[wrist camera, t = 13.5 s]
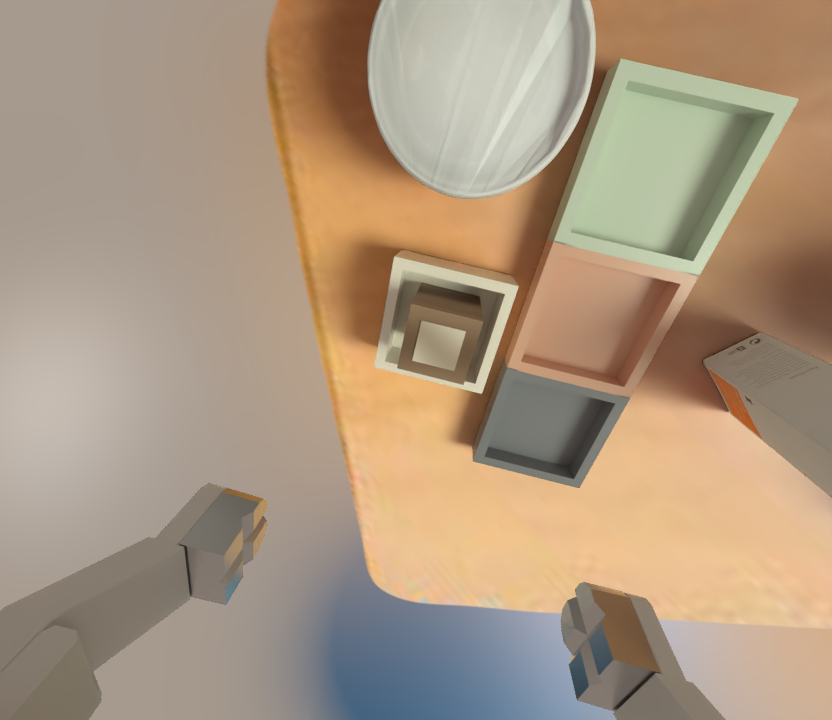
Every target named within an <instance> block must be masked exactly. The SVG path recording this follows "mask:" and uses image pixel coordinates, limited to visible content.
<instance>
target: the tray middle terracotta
mask: <svg viewBox="0 0 832 720" xmlns="http://www.w3.org/2000/svg"><path fill="white" fill-rule="evenodd" d="M549 239H550V238H549ZM566 244H567V243H566ZM616 256H617V255H616ZM628 259H629V258H628ZM673 270H674V269H673ZM673 270H669V269H665V268H660V267H656V266H653V264H652V265H648V264H644V263H639V262H635V261H631V260H627V259H623V258H618V257H614V256H610V255H606V254H602V253H597V252H593V250H592V251H589V250H585V249H581V248H578V247H577V248H576V247H575V246H573V247H572V246H570V245H564V244H559V243H555V241H554V242H552V241H551V240H548V238H547V240H546V243H545V246H544V249H543V252H542V254H541V257H540V260H539V263H538V266H537V268H536V271H535V274H534V277H533V279H532V282H531V285H530V288H529V291H528V293H527V296H526V299H525V302H524V305H523V307H522V310H521V313H520V316H519V318H518V321H517V324H516V327H515V330H514V332H513V335H512V338H511V341H510V344H509V346H508V349H507V352H506V355H505V359H506V361H505V362H506V366H507V368H508V367H509V368H510V369H516V370H520V371H521V372H524V373H528V374H533V375H535V374H536V376H540V377H544V376H545V378H547V377H549V379H553V380H557V381H561V382H565V383H569V384H572V383H573V385H577V386H581V387H585V388H586V387H588V388H589V389H593V390H597V391H601V392H605V393H606V392H607V393H609V394H613V395H618V396H619V395H620V396H621V395H622V397H624V396H626V397H627V398H629V397H631V396H632V394H633V392H634V390H635V389H636V387H637V385H638V383H639V382H640V380H641V378H642V376H643V374H644V373H645V371H646V369H647V367H648V366H649V364H650V362H651V360H652V359H653V357H654V355H655V353H656V351H657V350H658V348H659V346H660V344H661V343H662V341H663V339H664V337H665V336H666V334H667V332H668V330H669V328H670V327H671V325H672V323H673V321H674V320H675V318H676V316H677V314H678V313H679V311H680V309H681V307H682V306H683V304H684V302H685V300H686V298H687V297H688V295H689V293H690V291H691V290H692V288H693V286H694V284H695V283H696V281H697V279H698V276H699V275H698V276H696V274H695V276H694V275H692V274H687V273H682V272H677V271H673ZM675 270H676V269H675ZM683 272H684V271H683Z"/></svg>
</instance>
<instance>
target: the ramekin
mask: <svg viewBox="0 0 832 720" xmlns="http://www.w3.org/2000/svg"><path fill="white" fill-rule="evenodd" d="M595 51H596V34H595V23H594V16H593V10H592V6H591V2H590V0H381V1H380V4H379V7H378V9H377V12H376V15H375V17H374V21H373V25H372V29H371V34H370V40H369V47H368V56H367V73H368V90H369V97H370V102H371V106H372V110H373V113H374V117H375V120H376V123H377V126H378V129H379V131H380V133H381V135H382V137H383V139H384V141H385V143H386V145H387V147H388V148H389V150H390V151H391V153H392V154H393V156H394V157H395V159H396V160H397V161H398V163H399V164H400V165H401V166H402V167H403V168H404V169H405V170H406V171H407V172H408V173H409V174H410V175H411V176H412V177H414V178H415V179H416V180H418V181H419V182H420V183H422V184H423V185H425V186H427V187H429V188H430V189H432V190H435V191H437V192H439V193H442V194H445V195H448V196H451V197H454V198H463V199H480V198H488V197H492V196H496V195H500V194H503V193H506V192H508V191H510V190H513V189H515V188H517V187H519V186H520V185H522V184H524V183H525V182H527V181H529V180H530V179H531V178H533V177H534V176H535V175H537V174H538V173H539V172H540V171H542V170H543V169H544V168H545V167H546V166H547V165H548V164H549V163H550V162H551V161H552V160H553V159H554V158H555V156H556V155H557V154H558V153H559V152H560V150H561V149H562V147H563V146H564V144H565V143H566V142H567V140H568V138H569V137H570V135H571V134H572V132H573V130H574V128H575V127H576V125H577V123H578V121H579V119H580V116H581V114H582V111H583V109H584V107H585V104H586V101H587V98H588V95H589V92H590V87H591V83H592V78H593V73H594V65H595Z"/></svg>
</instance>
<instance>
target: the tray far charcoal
mask: <svg viewBox="0 0 832 720" xmlns="http://www.w3.org/2000/svg"><path fill="white" fill-rule="evenodd" d="M505 361H506V359H505V358H504V360H503V363H502V366H501V369H500V371H499V374H498V377H497V380H496V383H495V385H494V388H493V391H492V394H491V397H490V399H489V402H488V405H487V408H486V410H485V413H484V416H483V419H482V422H481V424H480V427H479V430H478V433H477V436H476V438H475V441H474V444H473V447H472V448H473V461H474V462H478V463H482V464H486V465H490V466H494V467H498V468H501V469H505V470H509V471H513V472H517V473H521V474H525V475H529V476H533V477H537V478H541V479H545V480H549V481H553V482H557V483H561V484H565V485H569V486H573V487H577V488H580V486H581V484H582V482H583V481H584V479H585V477H586V475H587V473H588V472H589V470H590V468H591V466H592V465H593V463H594V461H595V459H596V458H597V456H598V454H599V452H600V450H601V449H602V447H603V445H604V443H605V442H606V440H607V438H608V436H609V435H610V433H611V431H612V429H613V427H614V426H615V424H616V422H617V420H618V419H619V417H620V415H621V413H622V412H623V410H624V408H625V406H626V405H627V403H628V401H629V399H630V397H629V398H627V397H626V396H624V397H622V395H621V396H620V395H619V396H618V395H613V394H609V393H607V392H606V393H605V392H601V391H597V390H593V389H589V388H588V387H586V388H585V387H581V386H577V385H573V383H572V384H569V383H565V382H561V381H557V380H553V379H549V377H547V378H545V376H544V377H540V376H536V374H535V375H533V374H528V373H524V372H521V371H520V370H516V369H510V368H509V367H508V368H507V366H506V362H505Z"/></svg>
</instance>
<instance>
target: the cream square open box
mask: <svg viewBox="0 0 832 720" xmlns="http://www.w3.org/2000/svg"><path fill="white" fill-rule="evenodd" d="M422 282H423V283H427V284H431V285H435V286H439V287H443V288H447V289H451V290H455V291H459V292H463V293H468V294H472V295H476V296H480V302H481V308H482V314H483V321H484V322H483V325H482V328H481V332H480V335H479V338H478V341H477V344H476V347H475V350H474V354H473V357H472V360H471V363H470V366H469V369H468V372H467V376H466V379H465V382H464V385H461V384H457V383H453V382H449V381H446V380H442V379H438V378H434V377H430V376H426V375H422V374H418V373H414V372H410V371H406V370H402V369H398V368H397V366H398V362H399V357H400V353H401V348H402V343H403V338H404V334H405V329H406V325H407V320H408V315H409V311H410V306H411V303H412V301H413V299H414V297H415V295H416V293H417V291H418V289H419V287H420V285H421V283H422ZM518 288H519V286H518V284H517V282H516V281H515V279H514V277H513V276H512V275H508V274H503V273H499V272H495V271H491V270H487V269H483V268H478V267H474V266H470V265H466V264H462V263H458V262H453V261H449V260H445V259H441V258H437V257H433V256H428V255H424V254H420V253H416V252H412V251H408V250H404V249H402V250H401V251H400V252H399V253H398V254H396V255H395V256H394V260H393V266H392V271H391V277H390V283H389V288H388V294H387V299H386V305H385V310H384V316H383V322H382V327H381V333H380V338H379V344H378V349H377V355H376V361H375V366H374V367H375V368H379V369H384V370H388V371H392V372H396V373H400V374H404V375H408V376H412V377H416V378H420V379H424V380H428V381H432V382H436V383H440V384H444V385H448V386H452V387H456V388H460V389H464V390H468V391H472V392H476V393H480V394H482V392H483V389H484V386H485V384H486V381H487V378H488V375H489V372H490V369H491V366H492V363H493V360H494V357H495V354H496V352H497V349H498V346H499V343H500V340H501V337H502V334H503V331H504V328H505V325H506V323H507V320H508V317H509V314H510V311H511V308H512V305H513V302H514V299H515V296H516V294H517V291H518Z"/></svg>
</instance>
